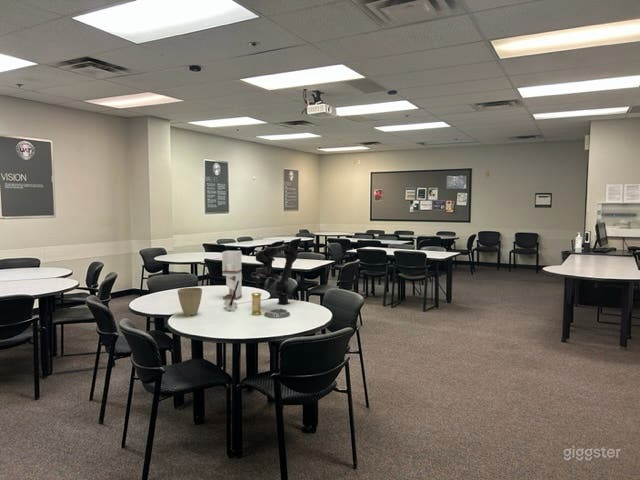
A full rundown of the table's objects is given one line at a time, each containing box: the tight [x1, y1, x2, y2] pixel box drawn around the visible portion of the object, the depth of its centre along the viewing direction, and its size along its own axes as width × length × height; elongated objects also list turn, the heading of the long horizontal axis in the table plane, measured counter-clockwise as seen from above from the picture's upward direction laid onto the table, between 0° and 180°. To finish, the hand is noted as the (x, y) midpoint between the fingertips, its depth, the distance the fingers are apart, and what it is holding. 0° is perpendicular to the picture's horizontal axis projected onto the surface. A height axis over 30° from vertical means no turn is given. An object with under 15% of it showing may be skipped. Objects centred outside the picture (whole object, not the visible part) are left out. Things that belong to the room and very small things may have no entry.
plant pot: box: [176, 287, 203, 317], centre depth 282 cm, size 15×15×16 cm
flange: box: [263, 308, 291, 319], centre depth 283 cm, size 16×16×2 cm
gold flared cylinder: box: [251, 292, 262, 316], centre depth 284 cm, size 6×6×13 cm
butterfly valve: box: [223, 281, 239, 312], centre depth 301 cm, size 9×20×17 cm
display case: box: [221, 250, 243, 301], centre depth 333 cm, size 11×11×35 cm
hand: (262, 288), depth 295 cm, fingers open, 9 cm apart
